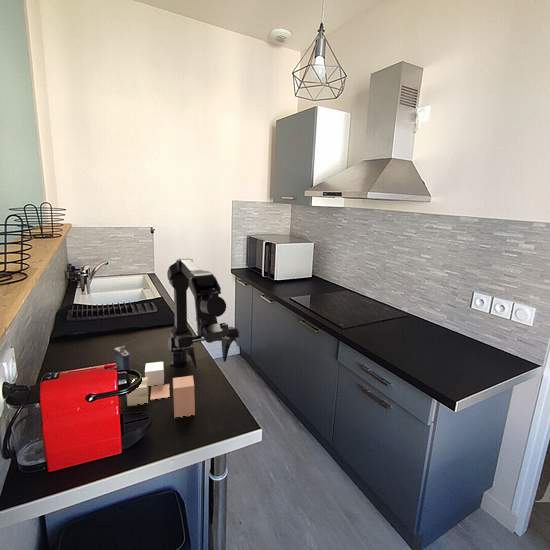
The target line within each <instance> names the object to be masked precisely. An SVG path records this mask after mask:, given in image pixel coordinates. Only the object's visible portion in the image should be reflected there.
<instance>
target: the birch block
mask: <svg viewBox="0 0 550 550" xmlns="http://www.w3.org/2000/svg"><path fill="white" fill-rule="evenodd" d="M141 378H142V382H141V384H140V385H139V387H138V388H136V389H135V390H134V391H132V392H131V393H129V394H127V393H126V403H127V404H126V405H127V407H132V406H138V405H137V404H140V405H145V404H144V403H147V404H149V396H150V395H149V394H150V391H149V390H150V389H149V388H150V387H148V377H146V378H145V377H141ZM132 379H133V380H132V382H131V383H133V382H134V381H135V379H136V378H132ZM148 395H149V396H148Z"/></svg>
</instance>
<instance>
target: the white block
mask: <svg viewBox="0 0 550 550" xmlns="http://www.w3.org/2000/svg"><path fill="white" fill-rule="evenodd" d="M164 365H165V363H164V361H156V362H148V363H145V368H144V378H146V377H148V386H154V385H163V384H164V385H165V369H164Z"/></svg>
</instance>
